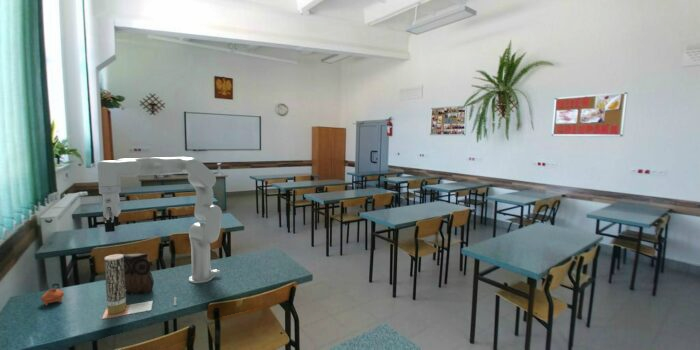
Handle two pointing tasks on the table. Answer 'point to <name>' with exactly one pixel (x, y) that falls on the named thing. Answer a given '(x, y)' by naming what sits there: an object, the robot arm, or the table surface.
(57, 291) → the pot
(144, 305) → the board
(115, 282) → the birch log
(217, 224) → the robot arm
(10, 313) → the table surface
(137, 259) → the brown owl figurine
